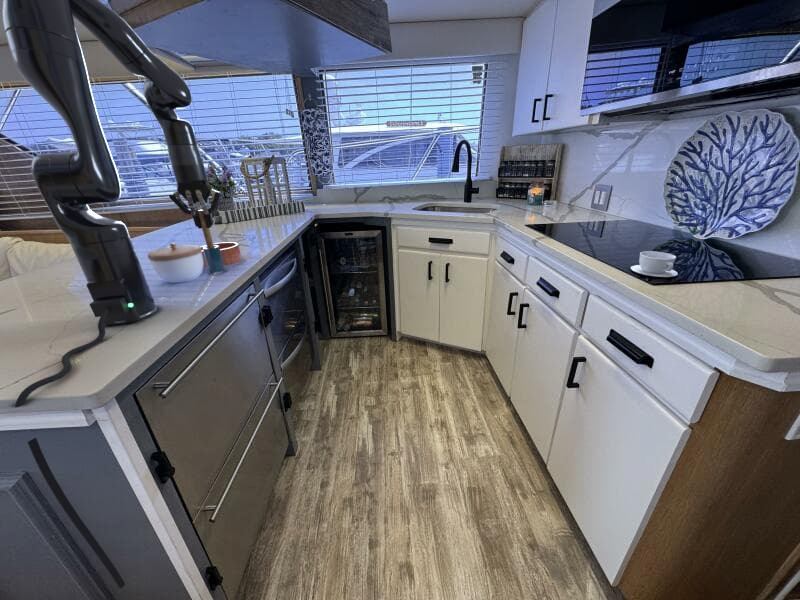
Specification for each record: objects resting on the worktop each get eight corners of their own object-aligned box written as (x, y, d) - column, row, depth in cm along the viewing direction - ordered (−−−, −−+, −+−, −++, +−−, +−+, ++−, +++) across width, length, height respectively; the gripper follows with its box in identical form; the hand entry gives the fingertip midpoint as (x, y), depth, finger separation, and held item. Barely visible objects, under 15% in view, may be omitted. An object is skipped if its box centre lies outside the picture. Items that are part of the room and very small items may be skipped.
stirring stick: (219, 270, 99) (202, 210, 91) (213, 271, 98) (195, 210, 91) (221, 268, 100) (204, 209, 93) (214, 269, 100) (198, 210, 93)
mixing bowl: (238, 267, 104) (233, 248, 102) (196, 271, 102) (191, 252, 99) (245, 257, 115) (241, 240, 113) (208, 260, 113) (203, 244, 110)
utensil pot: (223, 273, 98) (216, 248, 95) (208, 275, 97) (200, 249, 94) (226, 269, 102) (220, 244, 99) (212, 271, 101) (205, 246, 98)
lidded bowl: (173, 291, 85) (159, 251, 81) (149, 284, 91) (135, 246, 87) (218, 277, 95) (207, 240, 91) (194, 271, 101) (183, 237, 97)
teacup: (621, 267, 89) (625, 251, 87) (656, 265, 89) (661, 249, 87) (648, 279, 80) (653, 261, 78) (687, 277, 80) (694, 259, 78)
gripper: (152, 164, 82) (174, 232, 89) (211, 162, 85) (227, 228, 92) (165, 164, 89) (184, 227, 96) (218, 162, 92) (233, 223, 99)
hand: (205, 227), depth 94 cm, fingers closed on stirring stick, 2 cm apart
